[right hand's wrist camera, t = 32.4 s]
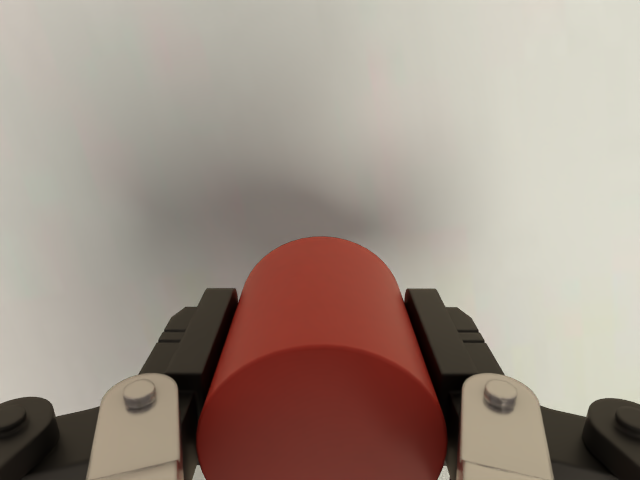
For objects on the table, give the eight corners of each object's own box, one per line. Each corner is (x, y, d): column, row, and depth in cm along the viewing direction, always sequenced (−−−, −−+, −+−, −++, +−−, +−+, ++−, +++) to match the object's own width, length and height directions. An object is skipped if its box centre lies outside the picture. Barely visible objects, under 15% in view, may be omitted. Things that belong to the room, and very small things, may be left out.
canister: (325, 201, 11) (330, 294, 7) (434, 314, 13) (498, 458, 8) (207, 307, 12) (142, 447, 8) (316, 401, 14) (315, 572, 9)
